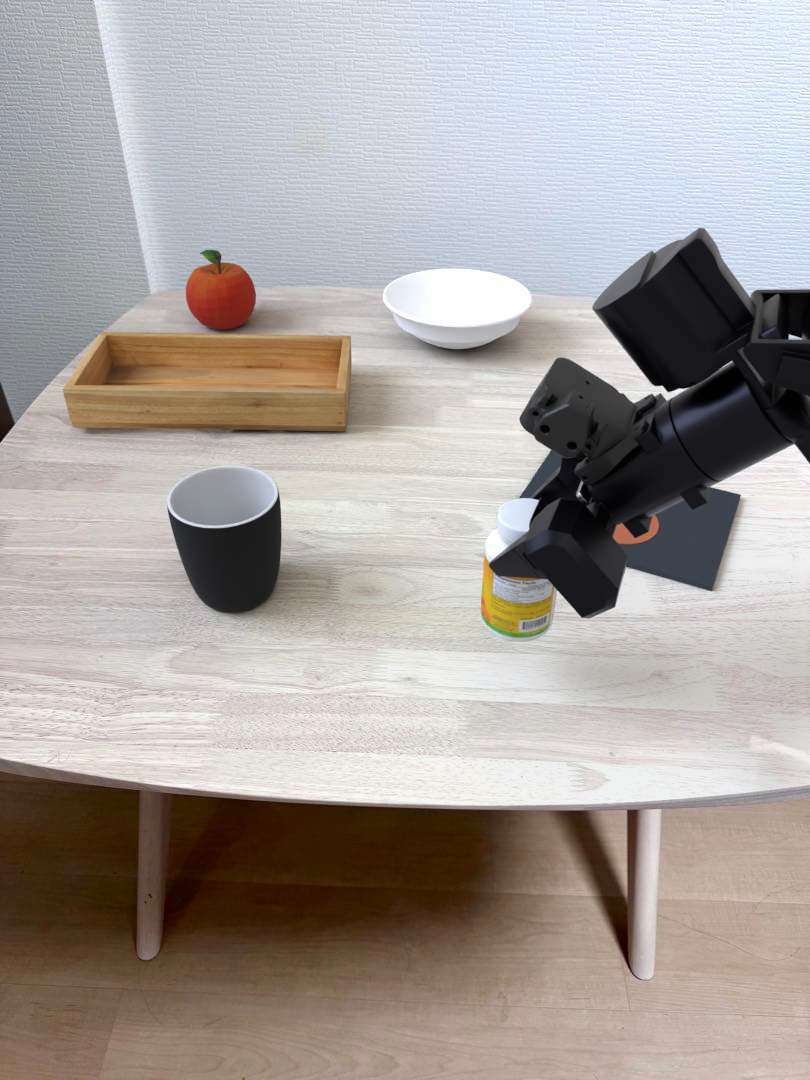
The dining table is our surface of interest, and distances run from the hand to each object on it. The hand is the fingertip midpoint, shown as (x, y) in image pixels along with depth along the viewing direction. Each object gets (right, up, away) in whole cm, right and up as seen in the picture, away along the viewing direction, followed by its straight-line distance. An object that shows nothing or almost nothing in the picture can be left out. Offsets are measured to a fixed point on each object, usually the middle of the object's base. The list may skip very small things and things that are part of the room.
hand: (504, 545), depth 60 cm
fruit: (-32, +31, +60) cm, 75 cm away
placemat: (+15, +3, +24) cm, 28 cm away
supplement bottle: (+1, -6, +4) cm, 7 cm away
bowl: (0, +28, +56) cm, 63 cm away
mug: (-23, -3, +16) cm, 28 cm away
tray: (-29, +17, +42) cm, 53 cm away
